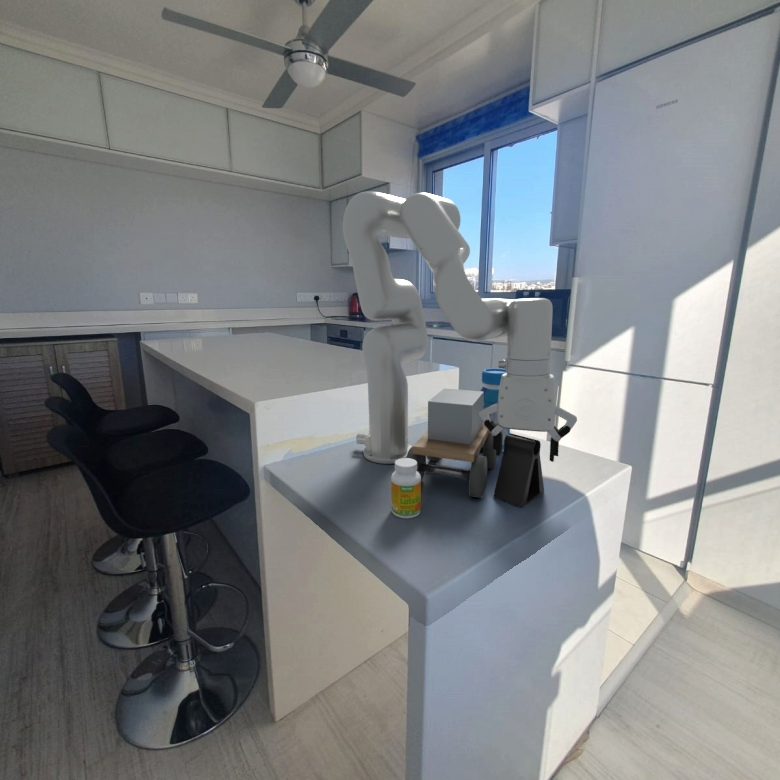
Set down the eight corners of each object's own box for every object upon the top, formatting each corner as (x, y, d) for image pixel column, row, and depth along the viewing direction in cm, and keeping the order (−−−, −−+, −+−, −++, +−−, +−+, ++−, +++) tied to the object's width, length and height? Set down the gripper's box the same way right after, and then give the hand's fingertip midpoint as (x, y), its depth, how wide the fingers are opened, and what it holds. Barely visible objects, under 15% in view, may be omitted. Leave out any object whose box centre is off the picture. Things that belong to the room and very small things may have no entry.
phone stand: (521, 508, 76) (525, 447, 73) (493, 497, 80) (495, 439, 77) (544, 492, 82) (548, 435, 79) (516, 482, 86) (520, 428, 83)
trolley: (478, 505, 77) (482, 415, 73) (404, 491, 83) (403, 407, 79) (497, 461, 97) (500, 388, 93) (435, 452, 103) (436, 383, 99)
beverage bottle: (493, 455, 100) (497, 375, 96) (469, 445, 107) (471, 369, 102) (516, 448, 105) (521, 371, 100) (492, 439, 112) (495, 366, 107)
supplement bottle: (399, 522, 72) (398, 470, 70) (387, 507, 77) (386, 459, 75) (426, 515, 74) (426, 465, 72) (412, 501, 79) (412, 454, 77)
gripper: (476, 369, 75) (475, 458, 79) (580, 372, 68) (574, 469, 72) (483, 363, 82) (482, 445, 85) (579, 365, 75) (574, 454, 79)
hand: (524, 456), depth 79 cm, fingers open, 9 cm apart
